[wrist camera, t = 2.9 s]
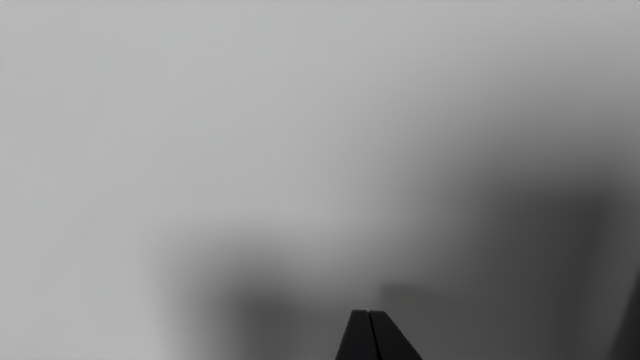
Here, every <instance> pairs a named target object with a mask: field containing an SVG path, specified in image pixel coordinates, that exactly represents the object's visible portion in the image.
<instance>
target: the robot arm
mask: <svg viewBox="0 0 640 360" xmlns="http://www.w3.org/2000/svg"><path fill="white" fill-rule="evenodd" d="M335 360H423V359H422V358H421V356H420V355H419V354H418V353H417V351H416V350H415V349H414V348H413V346H412V345H411V344H410V343H409V341H408V340H407V339H406V338H405V336H404V335H403V334H402V332H401V331H400V330H399V329H398V327H397V326H396V325H395V324H394V322H393V321H392V320H391V319H390V317H389V316H388V315H387V314H386V312H384V311H374V310H371V311H369V312H368V311H366V310H353V311H352V312H351V315H350V318H349V321H348V324H347V327H346V329H345V332H344V335H343V338H342V341H341V344H340V347H339V350H338V353H337V356H336V359H335Z"/></svg>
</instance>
